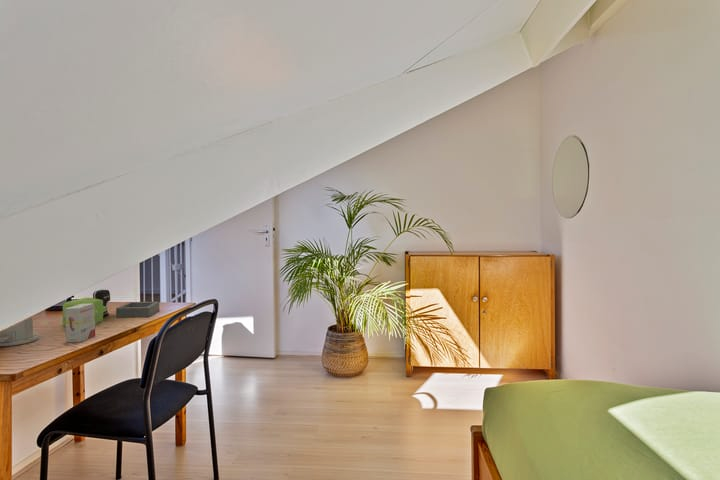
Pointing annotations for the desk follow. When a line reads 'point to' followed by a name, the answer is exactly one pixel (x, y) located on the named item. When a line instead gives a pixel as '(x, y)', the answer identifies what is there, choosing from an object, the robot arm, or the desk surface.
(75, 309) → the ink box
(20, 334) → the robot arm
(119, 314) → the tray
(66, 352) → the desk surface
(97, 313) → the lime green rounded box
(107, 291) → the battery
